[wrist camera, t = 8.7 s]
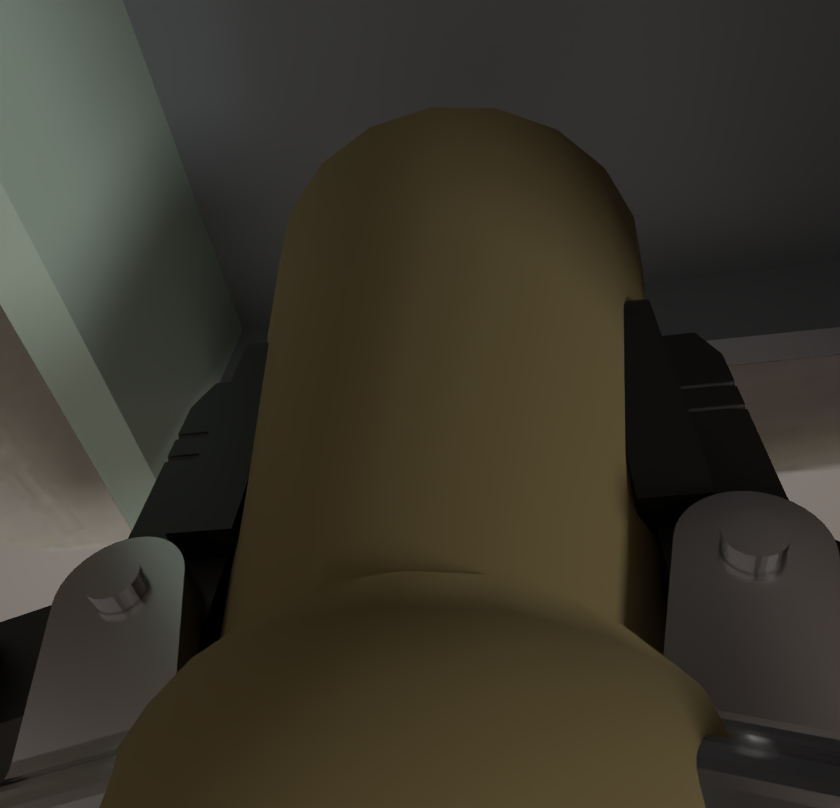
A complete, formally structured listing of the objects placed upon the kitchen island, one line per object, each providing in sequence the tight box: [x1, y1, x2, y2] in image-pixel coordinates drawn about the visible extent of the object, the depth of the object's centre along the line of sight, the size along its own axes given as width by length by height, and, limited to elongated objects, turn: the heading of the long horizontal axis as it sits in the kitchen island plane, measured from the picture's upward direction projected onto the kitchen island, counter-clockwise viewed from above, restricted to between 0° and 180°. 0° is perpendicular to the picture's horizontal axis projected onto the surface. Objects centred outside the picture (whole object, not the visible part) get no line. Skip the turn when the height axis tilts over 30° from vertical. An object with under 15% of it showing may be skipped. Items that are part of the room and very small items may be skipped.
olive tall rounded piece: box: [99, 107, 730, 808], centre depth 8 cm, size 6×6×11 cm
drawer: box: [0, 0, 840, 531], centre depth 14 cm, size 24×22×8 cm
